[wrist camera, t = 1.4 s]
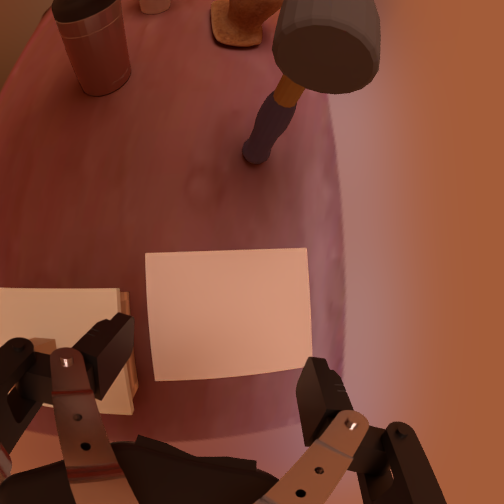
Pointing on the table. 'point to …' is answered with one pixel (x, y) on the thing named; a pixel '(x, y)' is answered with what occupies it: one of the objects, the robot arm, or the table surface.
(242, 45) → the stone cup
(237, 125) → the table surface
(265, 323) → the mat
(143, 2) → the coffee cup
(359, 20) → the rubber mallet
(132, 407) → the lid
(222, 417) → the table surface
